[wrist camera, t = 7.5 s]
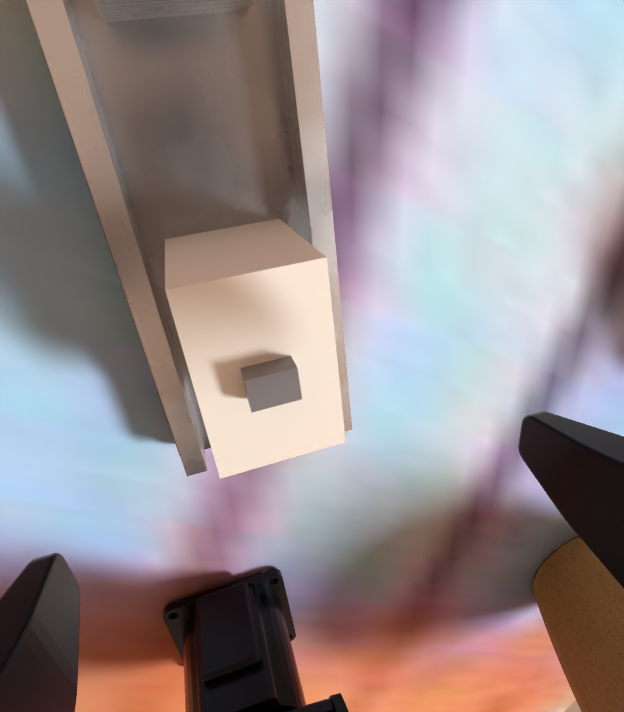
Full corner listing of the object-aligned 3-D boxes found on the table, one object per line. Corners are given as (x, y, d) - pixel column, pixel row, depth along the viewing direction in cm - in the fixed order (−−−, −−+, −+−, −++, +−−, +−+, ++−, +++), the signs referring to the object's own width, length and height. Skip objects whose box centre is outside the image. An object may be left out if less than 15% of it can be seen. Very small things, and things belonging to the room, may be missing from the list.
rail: (340, 401, 21) (408, 508, 15) (179, 444, 20) (185, 582, 14) (275, -228, 12) (393, -599, 6) (-48, -234, 10) (-347, -743, 4)
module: (300, 363, 19) (353, 456, 14) (205, 386, 18) (222, 495, 13) (278, 218, 16) (335, 264, 11) (164, 239, 15) (165, 299, 10)
